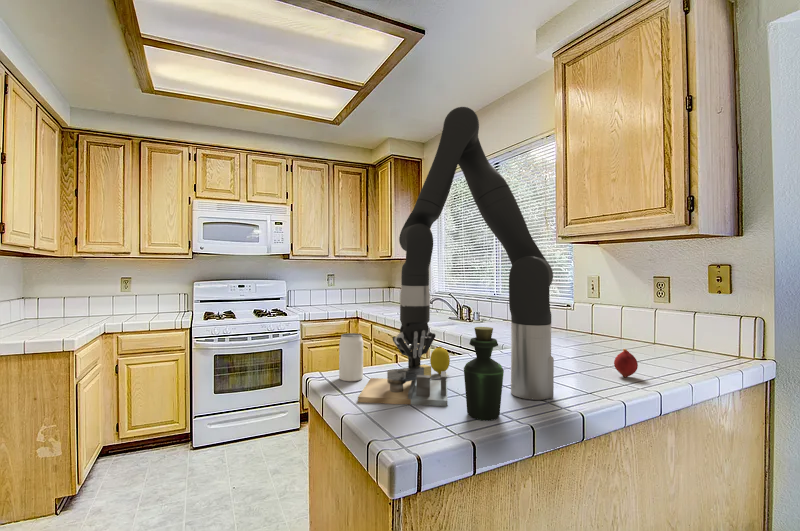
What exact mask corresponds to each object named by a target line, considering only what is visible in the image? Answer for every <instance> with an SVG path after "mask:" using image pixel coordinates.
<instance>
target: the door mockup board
mask: <svg viewBox="0 0 800 531" xmlns="http://www.w3.org/2000/svg"><path fill="white" fill-rule="evenodd" d="M357 402H358V403H363V404H364V403H368V404H369V403H371V404H389V405H390V404H393V405H394V404H395V405H413V406H437V407H440V406H441V407H448V380H447V370H446V371H441V374H440V380H435V379H433V380H432V379H431V377H430V375H417V380H412V381H407V382H406V383H404V384H400V385H394V384H389V383H387V378H377V377H376V378H375V377H371V378H369V380H368V382H367V383H366V385H365V386H364V387H363V389H362V390H361V392H360V394H359V395H358V396H357Z"/></svg>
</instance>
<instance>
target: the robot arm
mask: <svg viewBox="0 0 800 531" xmlns="http://www.w3.org/2000/svg"><path fill="white" fill-rule="evenodd" d="M442 127H443V128H442V131H441V136H440V141H439V143H438V146H437V151H436V152H435V156H434V158H433V160H432V164H431V167H430V168H429V171H428V173H427V175H426V178H425V180H424V182H423V185H422V187H421V189H420V192H419V195H418V196H417V200H416V202H415V205H414V207H413V209H412V210H411V213H410V214H409V215H408V217H407V219H406V221H405V223H404V224H403V226H402V228H401V230H400V234H399V238H398V242H399V245H400V248H402V250H403V251H405V262H404V263H403V264H402V267H401V273H400V274H401V281H400V282H401V285H400V286H401V288H400V293H399V295H400V297H399V299H400V300H399V302H400V303H399V305H400V306H399V321H400V323H401V326H400V328H399V333H398V334H397V335H396V336H393V337H392V341H393V343H394V345H395V347H397V349H398V350H399V352H400V353H401V355H402V356H405V357H407V358H408V363H407V364H408V365H407V368H409V367H415V366H419V365H421V357H422V356H423V355H426V354H427V352H428V351H429V350H430V347H431V345H432V343H433V342H434V340H435V338H436V333H435V332H434V333H433V332H432V331H430V327H429V322H430V321H431V320H430V317H431V316H430V315H431V314H430V312H431V311H430V308H431V307H430V306H431V304H430V303H431V294H430V293H431V292H430V264H431V262H432V261H431V260H432V256H433V255H432V254H433V250H434V237H433V232H432V230H431V228H432V225H433V224H434V222H436V221H438V219H439V218H440V216H441V214H442V212H443V209H444V207H445V204H446V202H447V199H448V197H449V195H450V191H451V188H452V185H453V182H454V177H455V174H456V171H457V168H458V166H459V168H460V169H461V172H462V173H463V177H464V179H465V182H466V184H467V187H468V189H469V191H470V194H471V196H472V198H473V201H474V202H475V205H476V207H477V209H478V211H479V213H480V216H481V217H482V219H483V221H484V222H485V224H486V226H488V228H489V230H490V231H491V233H493V235H494V236H495V238H496V239H497V240H498V241H499V242H500V244H501V245H502V247H503V248H504V250H505V253H506V255H507V257H508V259H509V261H510V264H511V268H510V269H509V273H508V274H509V275H508V301H509V302H508V304H509V305H508V307H509V312H510V320H511V321H510V322H511V324H510V325H511V327H510V333H511V334H510V340H511V341H510V344H511V345H510V349H511V350H510V351H511V352H510V393H511V395H513V396H515V397H517V398H520V399H526V400H532V401H533V400H534V401H535V400H536V401H538V400H539V401H542V400H548V399H554V390H555V389H554V388H555V387H554V382H555V381H554V380H555V379H554V374H555V373H554V372H555V371H554V367H555V365H554V364H555V363H554V361H555V359H554V357H553V356H552V311H551V306H550V304H551V302H550V301H551V300H550V287H551V285H552V283H553V280H554V272H553V268H552V266H551V264H550V263H549V262H548V260H547V259H546V258H545V256H544V255H543V253H542V251H541V250H540V248H539V247H538V245H537V244H536V242H535V241H534V239H533V237H532V235H531V232H530V231H529V228H528V226H527V223H526V220H525V217H524V215H523V213H522V211H521V208H520V206H519V205H518V202H517V199H516V197H515V195H514V194H513V192H512V190H511V188H510V185H509V184H508V182H507V181H506V179H505V178H504V177H503V176H502V175H501V174H500V172H499V171H498V169H496V168H495V167H494V166H493V165H492V164H491V163H490V162H489V160H488V158H487V156H486V154H485V152H484V149H483V147H482V144H481V142H480V138H479V131H480V130H479V129H480V122H479V117H478V114H477V113H476V112H475V111H474V110H473V109H472V108H470V107H468V106H457V107H455V108H453V109H451V111H449V112H448V114H447V115H446V116H445V118H444V121H443V126H442Z"/></svg>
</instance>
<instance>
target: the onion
mask: <svg viewBox="0 0 800 531" xmlns="http://www.w3.org/2000/svg"><path fill="white" fill-rule="evenodd" d="M613 365H614V366H613V367H614V368H615V369H616V371H617V372H618V373H619V374H620V375H621V376H622V377H624V378H628V377H630V376H632V375H633V374H635V373H636V372H637V370H638V367H639V365H638V360H637V358H636V357H635V356H634V355H633V354H632V353H631V352H630V351H629V350H627V349H626V348H623V349H622V352H619V353H618V354H617V355H616V357H615V359H614V362H613Z"/></svg>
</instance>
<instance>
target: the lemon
mask: <svg viewBox="0 0 800 531" xmlns="http://www.w3.org/2000/svg"><path fill="white" fill-rule="evenodd" d="M429 359H430V361H429V363H430V366H431V369H432V370H433V371H435V372H436V374H438V375H441V371H446V372H447V370H448V369H449V367H450V363H451V362H450V361H451V358H450V354H449V352H448V350H446V349H445V348H443V347H442V346H441V345H440V346H438V347H436V348H434V349H433V351H432V352H431V354H430V358H429Z"/></svg>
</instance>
